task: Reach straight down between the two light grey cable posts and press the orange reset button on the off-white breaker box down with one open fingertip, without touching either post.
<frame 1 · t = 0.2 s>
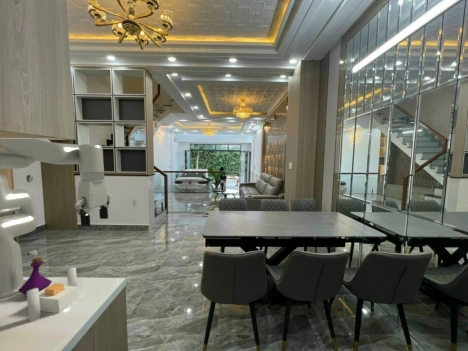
hand: (95, 222, 83), 31 cm above the kitchen island, tool pointing down, fingers open, 9 cm apart
breaker box: (55, 304, 83), on the kitchen island
button: (54, 291, 83), point 5 cm above the kitchen island, slide at 0.0 cm
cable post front: (34, 318, 76), on the kitchen island
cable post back: (73, 292, 90), on the kitchen island
perfume bottle: (36, 293, 90), on the kitchen island
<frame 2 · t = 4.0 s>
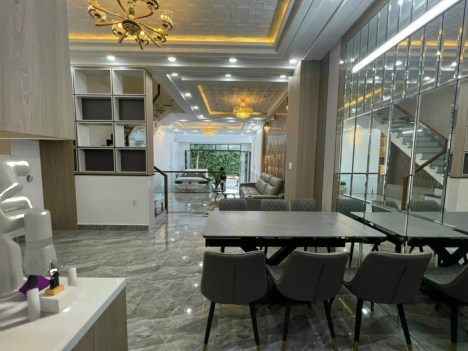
hand: (43, 286, 83), 7 cm above the kitchen island, tool pointing down, fingers open, 9 cm apart
button: (54, 292, 83), point 5 cm above the kitchen island, slide at 0.4 cm, touching gripper
everything else where it was.
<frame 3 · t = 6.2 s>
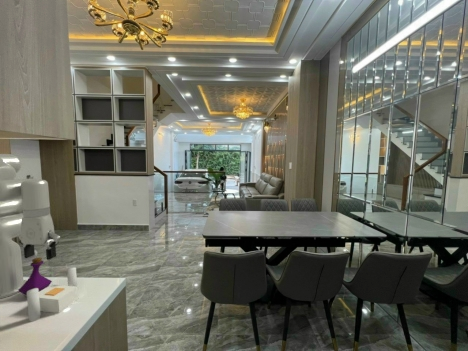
hand: (40, 257, 83), 18 cm above the kitchen island, tool pointing down, fingers open, 9 cm apart
button: (55, 296, 83), point 3 cm above the kitchen island, slide at 1.8 cm
everything else where it was.
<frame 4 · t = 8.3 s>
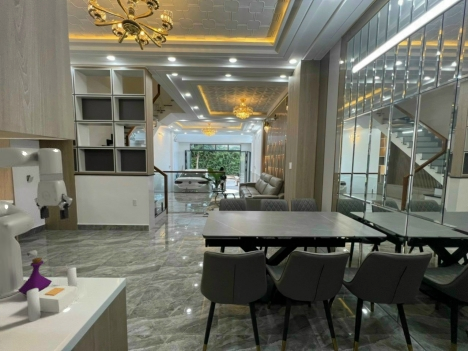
hand: (54, 218, 92), 30 cm above the kitchen island, tool pointing down, fingers open, 9 cm apart
nothing on the kitchen island moved.
at the end: button slide at 1.8 cm; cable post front moved 0.0 cm from its start; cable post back moved 0.0 cm from its start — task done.
